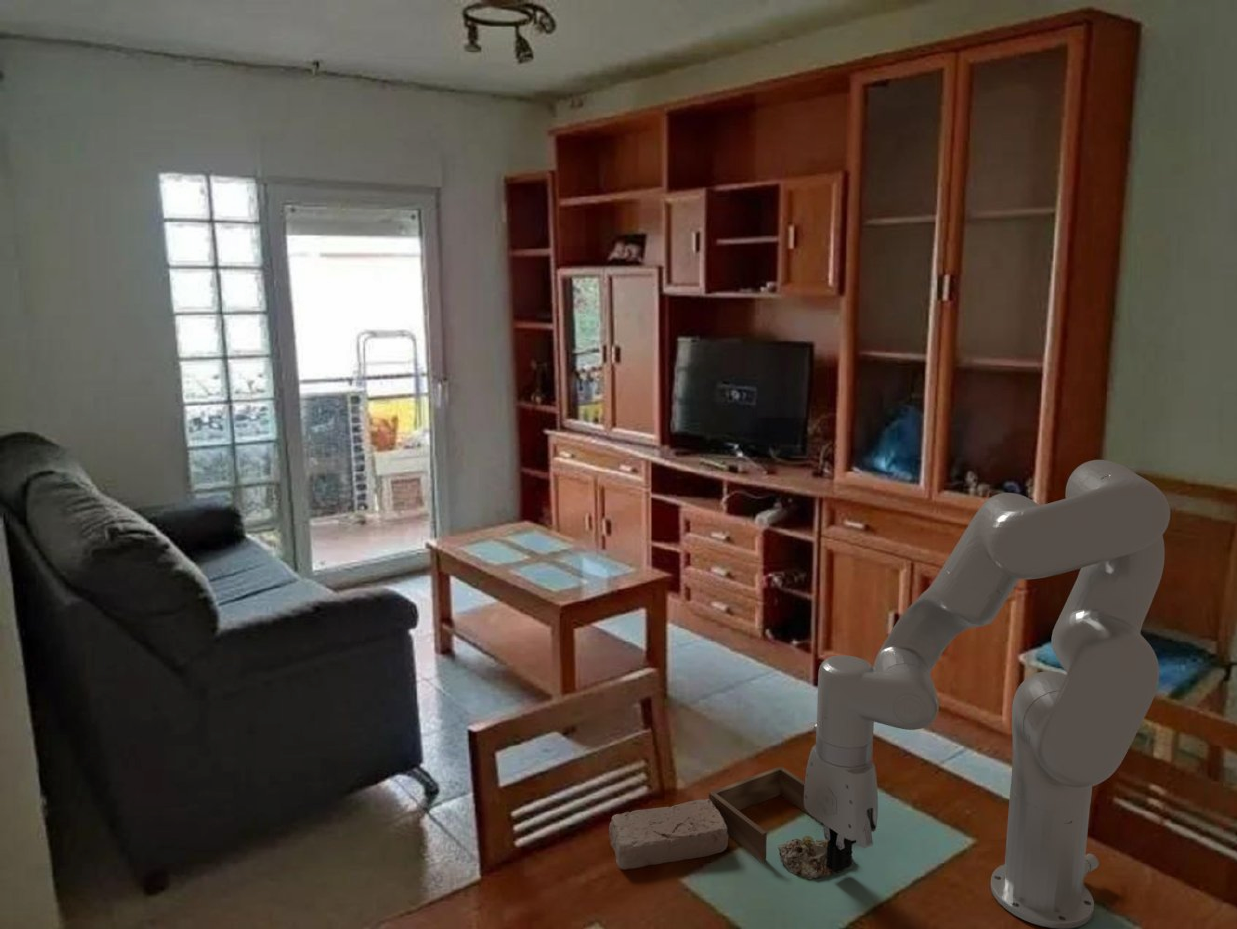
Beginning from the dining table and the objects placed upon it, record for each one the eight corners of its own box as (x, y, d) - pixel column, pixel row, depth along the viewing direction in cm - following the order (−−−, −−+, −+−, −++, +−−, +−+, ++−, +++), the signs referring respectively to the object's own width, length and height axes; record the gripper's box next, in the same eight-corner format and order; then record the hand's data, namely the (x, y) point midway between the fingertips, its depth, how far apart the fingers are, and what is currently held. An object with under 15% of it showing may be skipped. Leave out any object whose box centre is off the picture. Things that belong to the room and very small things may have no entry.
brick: (620, 873, 129) (620, 844, 128) (607, 839, 137) (607, 811, 136) (730, 856, 132) (730, 827, 131) (711, 823, 140) (711, 796, 139)
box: (780, 791, 148) (780, 766, 147) (836, 830, 137) (837, 803, 136) (708, 818, 141) (708, 792, 140) (761, 862, 130) (762, 834, 129)
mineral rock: (786, 870, 125) (775, 823, 132) (782, 891, 127) (772, 844, 134) (862, 870, 125) (848, 823, 133) (858, 891, 127) (844, 844, 134)
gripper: (785, 731, 127) (782, 848, 131) (865, 780, 115) (859, 907, 118) (824, 718, 131) (820, 831, 135) (906, 763, 118) (899, 887, 122)
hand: (838, 866), depth 126 cm, fingers closed
